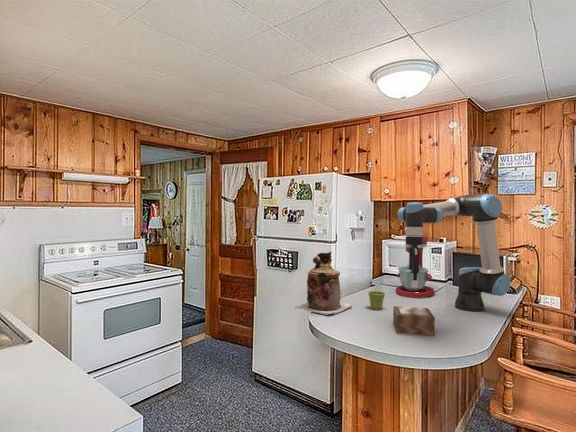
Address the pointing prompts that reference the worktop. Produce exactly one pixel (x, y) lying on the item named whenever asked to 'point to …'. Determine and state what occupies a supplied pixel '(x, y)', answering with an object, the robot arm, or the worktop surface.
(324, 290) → the cookie jar
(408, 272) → the teal cube
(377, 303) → the plant pot
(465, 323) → the worktop surface
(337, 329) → the worktop surface
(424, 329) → the walnut block
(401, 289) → the stand mixer
